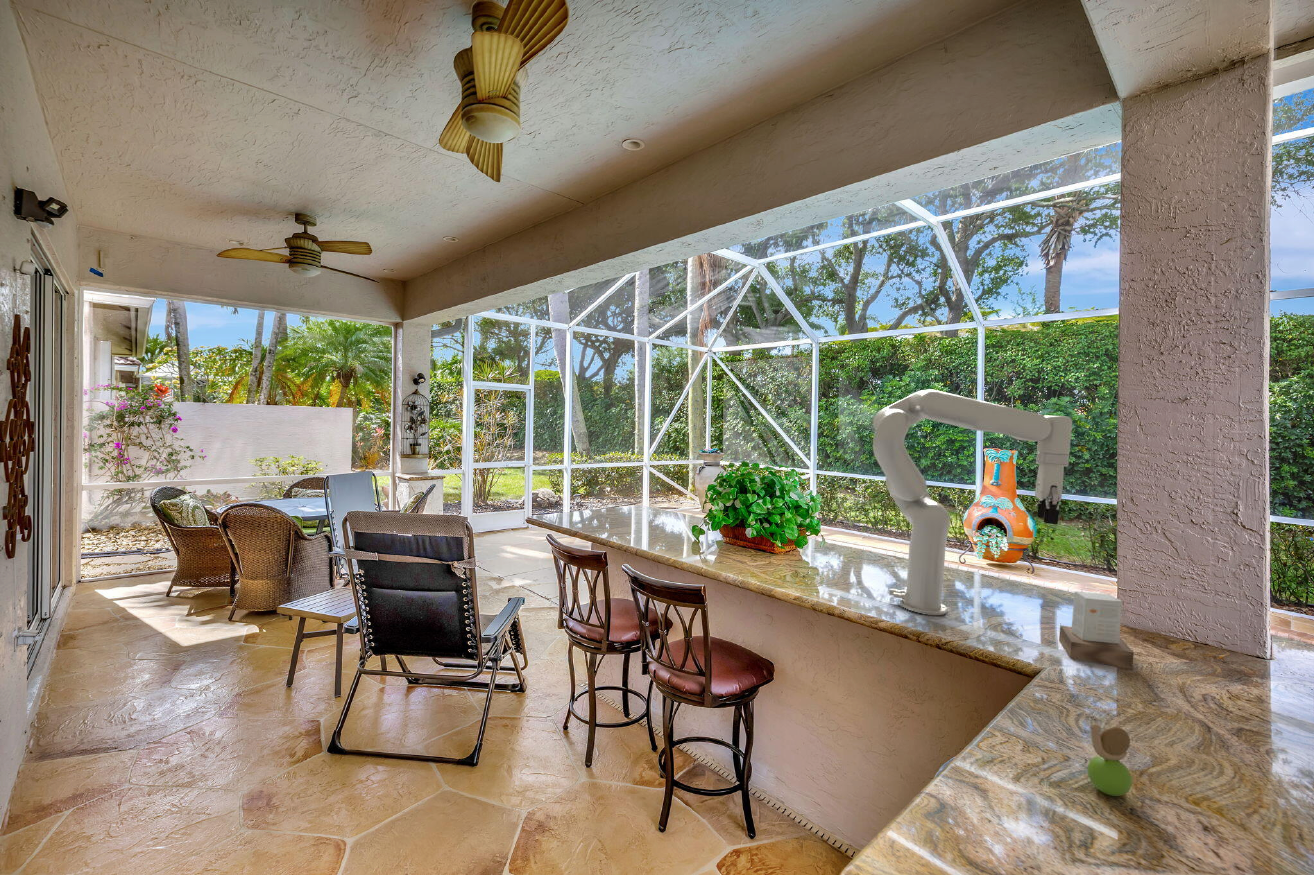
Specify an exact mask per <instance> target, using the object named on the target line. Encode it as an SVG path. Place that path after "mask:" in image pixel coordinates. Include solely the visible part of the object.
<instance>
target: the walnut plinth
mask: <svg viewBox="0 0 1314 875" xmlns="http://www.w3.org/2000/svg"><path fill="white" fill-rule="evenodd" d="M1058 637H1059V638H1058V641H1059V643H1060V644H1061V647H1062V648H1063V650H1064V651H1065V652H1066V654H1067V656H1068V658H1070V659H1073V660H1079V661H1084V662H1088V663H1089V662H1090V663H1094V664H1095V663H1096V664H1101V665H1107V666H1112V667H1118V668H1123V669H1128V670H1133V666H1134V654H1135V652H1134V651H1133V649H1131V648H1130V647H1129V646H1128V644H1127V643H1126V642H1125V641H1124V640H1123V639H1122V637H1120V638H1119V644H1116V643H1105V642H1094V641H1084V640H1082V639H1080V638H1079V637H1078V636H1076V635H1075V634H1074V633H1072V626H1068V625H1062V624H1061V625H1059V636H1058Z"/></svg>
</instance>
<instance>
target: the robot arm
mask: <svg viewBox="0 0 1314 875" xmlns="http://www.w3.org/2000/svg"><path fill="white" fill-rule="evenodd" d="M925 419H926V420H931V421H934V422H938V423H943V424H948V425H950V426H951V425H952V426H956V427H959V428H963V429H968V430H972V431H977V432H988V433H997V434H1001V435H1006V436H1010V437H1011V438H1013V439H1015V440H1018V441H1019V440H1020V441H1027V442H1037V448H1036V457H1035V458H1036V461H1035V464H1036V465H1038V470H1037V476H1036V483H1035V490H1034V496H1035V498H1037V499H1038V503H1037V514H1036V516H1037V518H1040V519H1041V518H1042V519H1043V523H1044V524H1050V525H1058V524H1059V514H1060V503H1059V502H1061V501H1062V495H1063V486H1064V485H1063V484H1064V471H1065V470H1064V467H1065V468H1066V467H1069V461H1070V452H1071V451H1070V450H1071V439H1072V438H1071V437H1072V427H1073V420H1072V418H1071V417H1070V416H1065V415H1042V414H1041V413H1037V412H1033V411H1028V410H1024V409H1019V408H1015V407H1011V406H1010V407H1009V406H1006V405H1000V404H997V403H992V402H987V401H986V400H985V401H983V400H980V399H976V398H970V397H966V396H962V395H958V394H954V393H950V392H945V391H940V390H936V389H921V390H917V391H915V392H913V393H911V394H910V395H908V396H906V397H903V399H900V400H897V401H896V402H894V403H892V404H890V405H889V406H886V407H884V408H882V409H880V410H879V411H878V412H877V413H876V414H875V415H874V416H873V419H872V425H873V429H874V431H875V432H874V435H873V437H872V438H873V439H872V449H873V450H872V451H873V455H874V457H875V459H876V461H877V463H878V465H879V466H880V469H881V471H882V472H883V474H884V475H885V485H886V488H887V490H888V493H889V494H890V495H891V497H892V499H893V500H894V503H895V504H896V506H897V507H898V508H899V510H900V512H901V513H902V515H903V516H904V518H905V519H906V520H907V522H908V523H910V524H911V525H912V529H911V534H910V540H909V546H908V563H907V575H906V576H907V577H906V587H905V588H904V589H901V590H900V589H894V588H889V596H892V597H893V598H898V599H899V605H900V607H902V608H903V607H904V608H903V609H905V608H906V609H905V610H907V609H910V610H912V611H915V612H918V613H917V614H919V613H924V614H923V615H925V614H928V615H927V616H942V615H945V614H947V612H948V608H947V606H946V605H944V604H943V603H942V600H943V599H942V598H943V588H944V587H943V585H944V574H945V573H944V572H945V558H946V550H947V549H946V547H947V539H948V535H949V531H950V527H951V526H950V525H951V518H950V514H949V512H948V510H947V509H946V507H944V506H943V505H942V504H941V503H939V502H937V501H935V500H933V499H932V497H931V496H930V494H929V493H928V491H927V489H928V487H927V482H926V479H925V477H924V476H923V474H922V473H921V471H920V470H919V469H918V467H917V465H916V464H915V462H914V461H913V460H912V458H911V456H910V454H909V452H908V450H907V448H906V445H905V438H906V435H907V433H908V432H909V429H910V427H911V426H914V425H916V424H918V423H919V422H921V421H923V420H925ZM912 611H911V612H912ZM915 612H914V613H915Z"/></svg>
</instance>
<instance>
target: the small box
mask: <svg viewBox="0 0 1314 875" xmlns="http://www.w3.org/2000/svg"><path fill="white" fill-rule="evenodd" d="M1073 594H1074V595H1073V608H1072V621H1071V627H1072V633H1074V634H1075V635H1076V636H1078V637H1079V638H1080V639H1082V640H1084V641H1094V642H1105V643H1116V644H1119V638H1121V636H1120V635H1121V622H1122V614H1123V604H1124V603H1123V601H1122V600H1121V599H1118V598H1117V597H1115V596H1113V595H1111V594H1109V593H1101V592H1087V591H1074V593H1073Z"/></svg>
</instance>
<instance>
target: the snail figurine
mask: <svg viewBox="0 0 1314 875" xmlns="http://www.w3.org/2000/svg"><path fill="white" fill-rule="evenodd" d="M1089 718H1090V719H1091V720H1090V722H1091V724H1090V725H1089V729H1090V731H1091V734H1090V735H1091V737H1090V738H1091V741H1092V742H1091V743H1092V747H1093V749H1094V751H1095V754H1097V755H1096V756H1094V757H1092V758H1091V759H1090V761H1089V762H1088V764H1087V768H1086V769H1087V775H1088V778H1089V780H1090V782H1091V783H1092V785H1093V786H1094V787H1095V788H1096V789H1098V790H1099V791H1100V792H1102V793H1103V794H1105V795H1108V796H1113V797H1120V796H1124V795H1126V794H1127V793H1129V791H1130V790H1131V789H1132V787H1133V786H1132V785H1133V778H1132V775H1131V772H1130V771H1129V768H1127V766H1126V765H1125V764H1124V763H1123V762H1121V760H1123V759H1124V758H1125V757H1126V756H1127V755H1128V750H1129V747H1130V745H1131V738H1130V736H1129V733H1128V732H1127V731H1126V730H1125V729H1123V727H1120V726H1109V727H1106V728H1104V729H1103V730H1102V727H1101V726H1100V725H1099V724H1098V723H1096V722H1098V721H1099V720H1098V718H1097V717H1094V715H1092V714H1091V715H1090V716H1089ZM1092 721H1094V723H1093V722H1092Z"/></svg>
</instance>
